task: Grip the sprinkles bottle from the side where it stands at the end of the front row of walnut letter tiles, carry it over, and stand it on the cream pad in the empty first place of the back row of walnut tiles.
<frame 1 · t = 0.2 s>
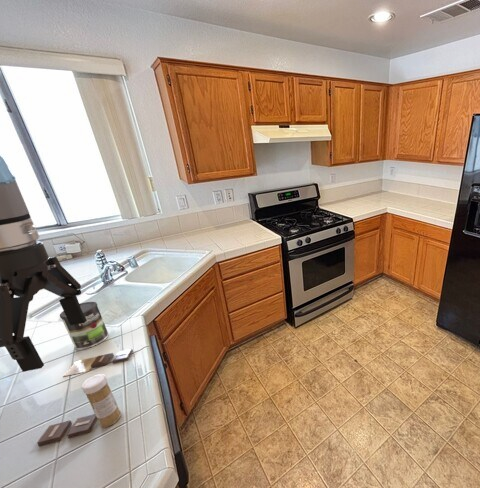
hand: (58, 343, 53), 29 cm above the countertop, tool pointing down, fingers open, 13 cm apart
sprinkles bottle: (111, 420, 69), on the countertop
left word: (70, 430, 66), on the countertop
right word: (113, 359, 90), on the countertop
coffee can: (92, 340, 100), on the countertop
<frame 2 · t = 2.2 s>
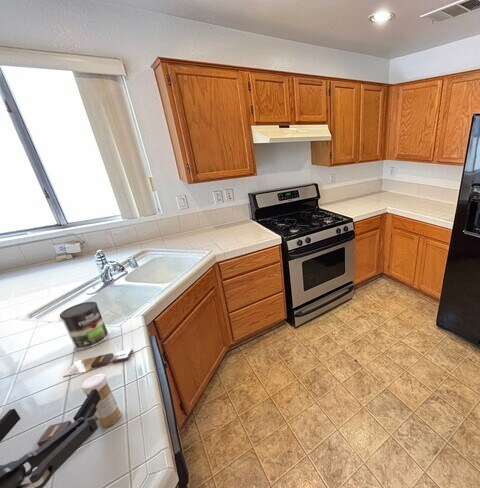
hand: (57, 403, 53), 18 cm above the countertop, tool horizontal, fingers open, 13 cm apart
nothing on the countertop moved.
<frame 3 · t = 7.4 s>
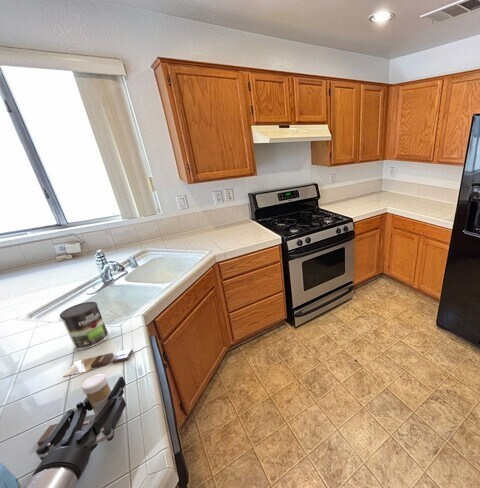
hand: (112, 383, 71), 7 cm above the countertop, tool horizontal, fingers closed on sprinkles bottle, 4 cm apart
sprinkles bottle: (111, 420, 69), on the countertop, touching gripper
everything else where it was.
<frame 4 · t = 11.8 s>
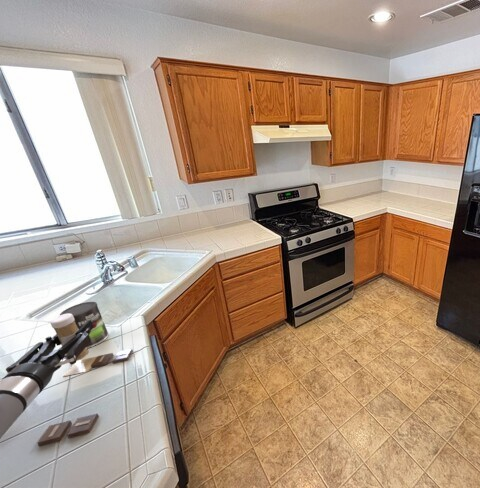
hand: (80, 325, 79), 18 cm above the countertop, tool horizontal, fingers closed on sprinkles bottle, 4 cm apart
sprinkles bottle: (79, 357, 77), point 11 cm above the countertop, touching gripper
everything else where it was.
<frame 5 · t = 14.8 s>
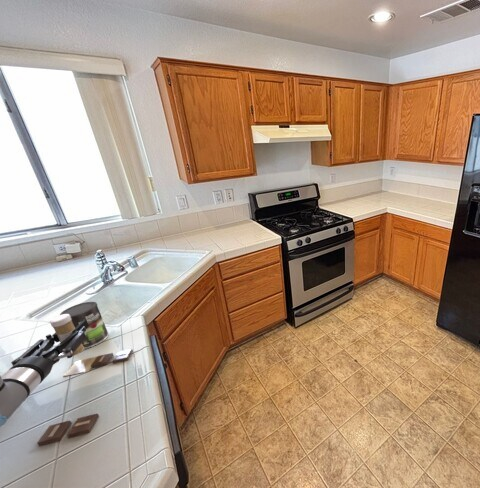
hand: (77, 324, 88), 13 cm above the countertop, tool horizontal, fingers closed on sprinkles bottle, 4 cm apart
sprinkles bottle: (76, 352, 86), point 6 cm above the countertop, touching gripper
everything else where it was.
when the fingers open (7 cm above the countertop, at t = 16.6 s): sprinkles bottle stays where it is, resting on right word.
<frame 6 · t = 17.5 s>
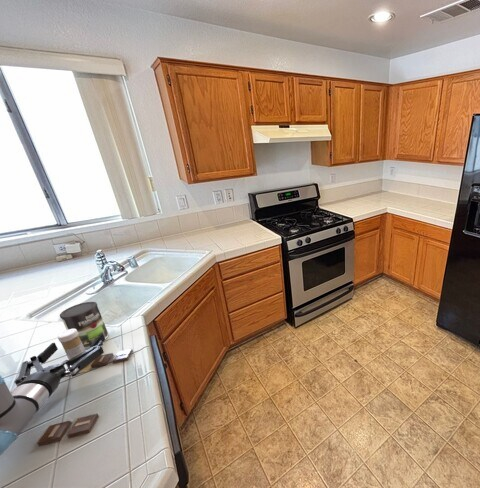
hand: (79, 341, 88), 8 cm above the countertop, tool horizontal, fingers open, 13 cm apart
sprinkles bottle: (82, 366, 88), resting on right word
everything else where it was.
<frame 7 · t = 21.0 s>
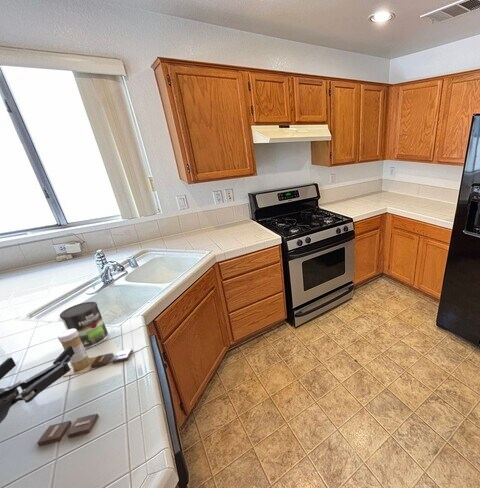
hand: (42, 355, 73), 14 cm above the countertop, tool horizontal, fingers open, 13 cm apart
nothing on the countertop moved.
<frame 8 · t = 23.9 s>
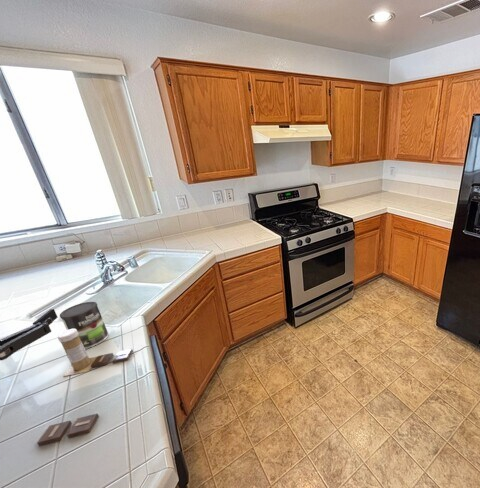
hand: (23, 318, 69), 26 cm above the countertop, tool horizontal, fingers open, 13 cm apart
nothing on the countertop moved.
at the end: sprinkles bottle 0.1 cm from the target spot on the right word, point 0.0 cm above the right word's base; sprinkles bottle tilted 0°; the gripper is holding nothing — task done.
